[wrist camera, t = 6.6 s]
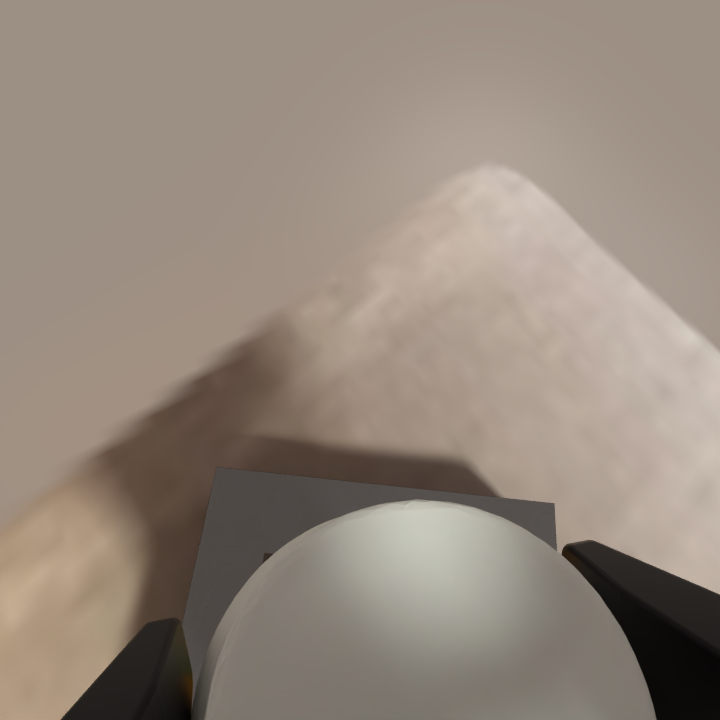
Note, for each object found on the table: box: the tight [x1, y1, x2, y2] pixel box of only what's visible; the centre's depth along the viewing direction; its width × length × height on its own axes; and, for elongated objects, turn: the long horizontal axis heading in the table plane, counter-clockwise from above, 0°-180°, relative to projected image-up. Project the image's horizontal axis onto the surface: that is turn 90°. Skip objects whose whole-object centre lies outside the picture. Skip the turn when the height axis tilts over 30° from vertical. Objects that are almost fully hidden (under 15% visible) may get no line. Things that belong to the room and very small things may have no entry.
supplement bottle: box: [191, 499, 657, 720], centre depth 9 cm, size 5×5×10 cm
